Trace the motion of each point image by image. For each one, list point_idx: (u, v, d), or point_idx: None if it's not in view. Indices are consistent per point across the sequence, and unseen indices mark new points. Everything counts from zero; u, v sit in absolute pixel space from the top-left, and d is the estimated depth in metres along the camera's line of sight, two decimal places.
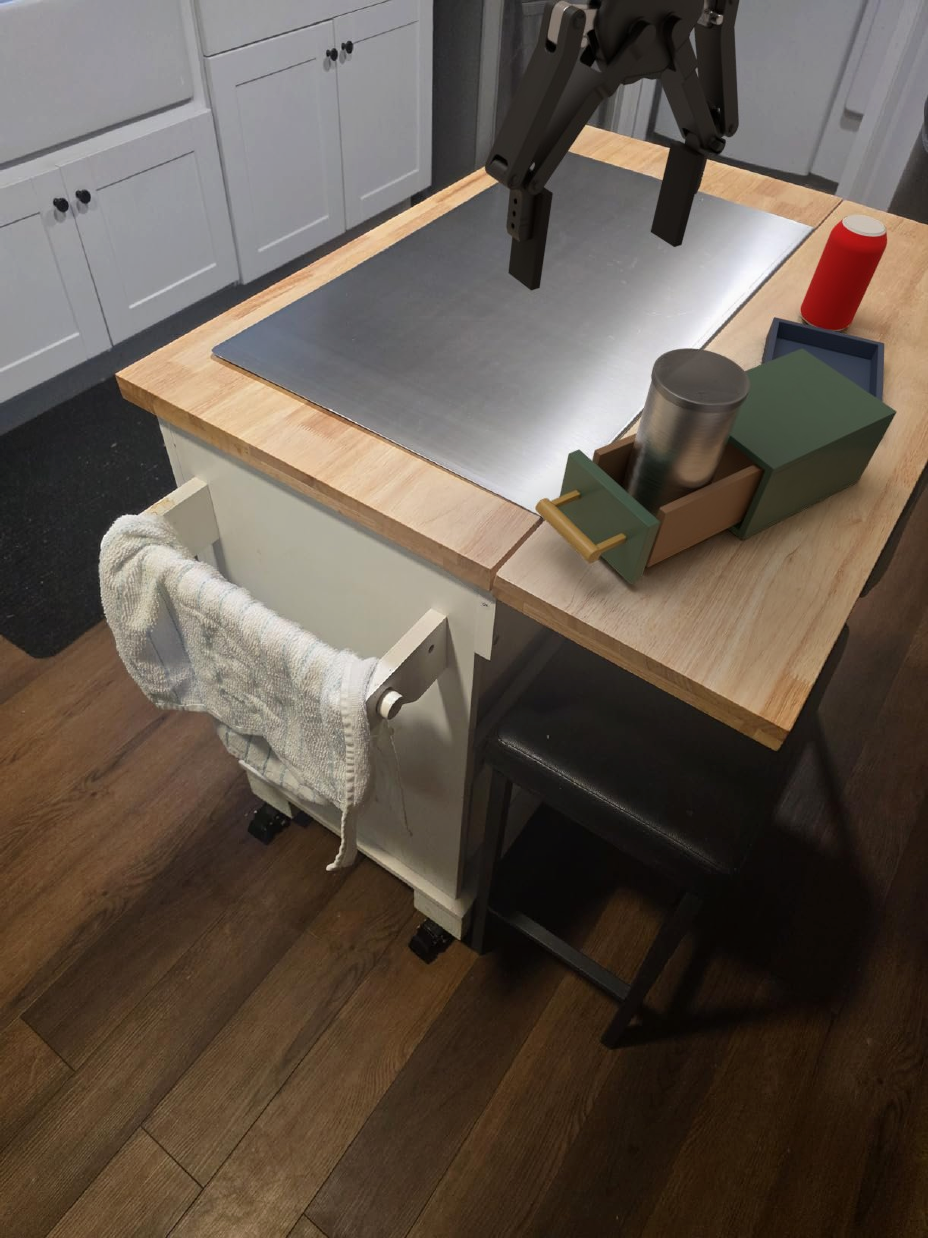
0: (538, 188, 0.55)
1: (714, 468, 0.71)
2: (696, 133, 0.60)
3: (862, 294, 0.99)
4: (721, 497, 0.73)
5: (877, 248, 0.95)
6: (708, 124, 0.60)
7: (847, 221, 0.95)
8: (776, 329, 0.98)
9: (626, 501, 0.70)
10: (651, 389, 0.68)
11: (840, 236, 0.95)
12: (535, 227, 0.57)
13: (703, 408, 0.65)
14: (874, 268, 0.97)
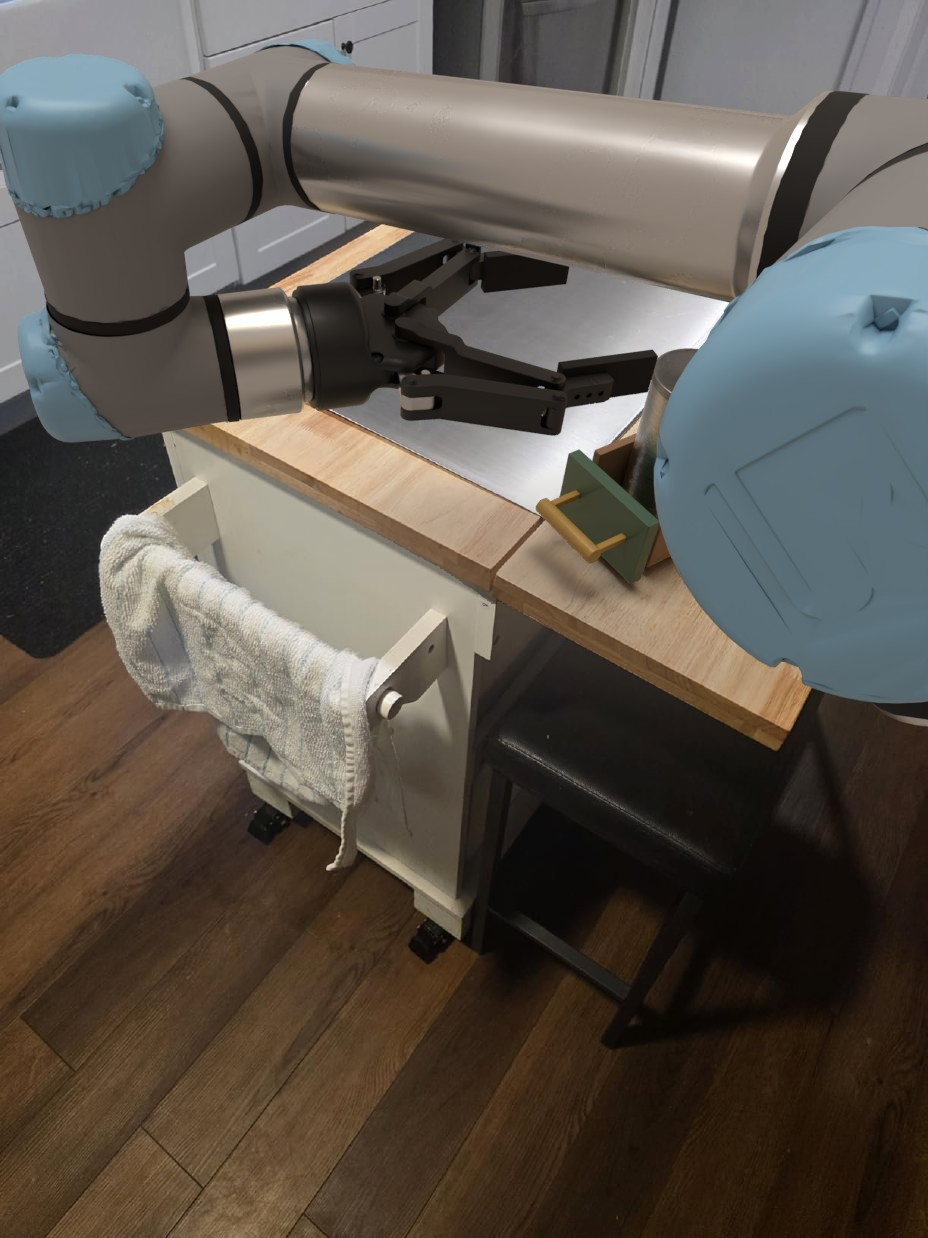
0: (558, 374, 0.52)
1: None
2: (469, 266, 0.61)
3: None
4: None
5: None
6: (458, 258, 0.61)
7: None
8: None
9: (626, 501, 0.70)
10: (651, 389, 0.68)
11: None
12: (595, 369, 0.54)
13: None
14: None
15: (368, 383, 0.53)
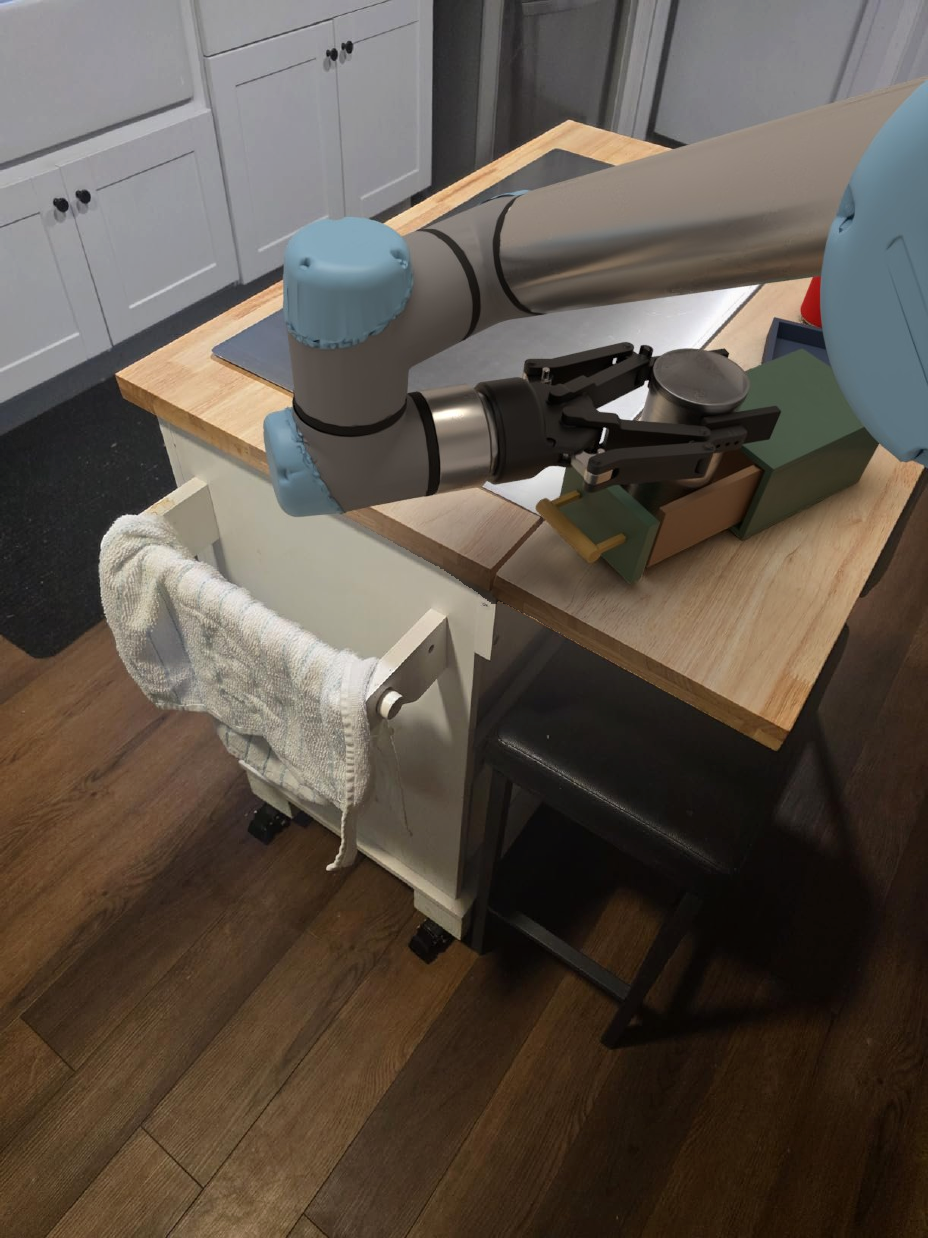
0: (704, 428, 0.65)
1: (714, 468, 0.71)
2: (636, 370, 0.70)
3: None
4: (721, 497, 0.73)
5: None
6: (629, 361, 0.70)
7: None
8: (776, 329, 0.98)
9: (626, 501, 0.70)
10: (651, 389, 0.68)
11: None
12: (732, 423, 0.66)
13: (703, 408, 0.65)
14: None
15: (541, 463, 0.63)
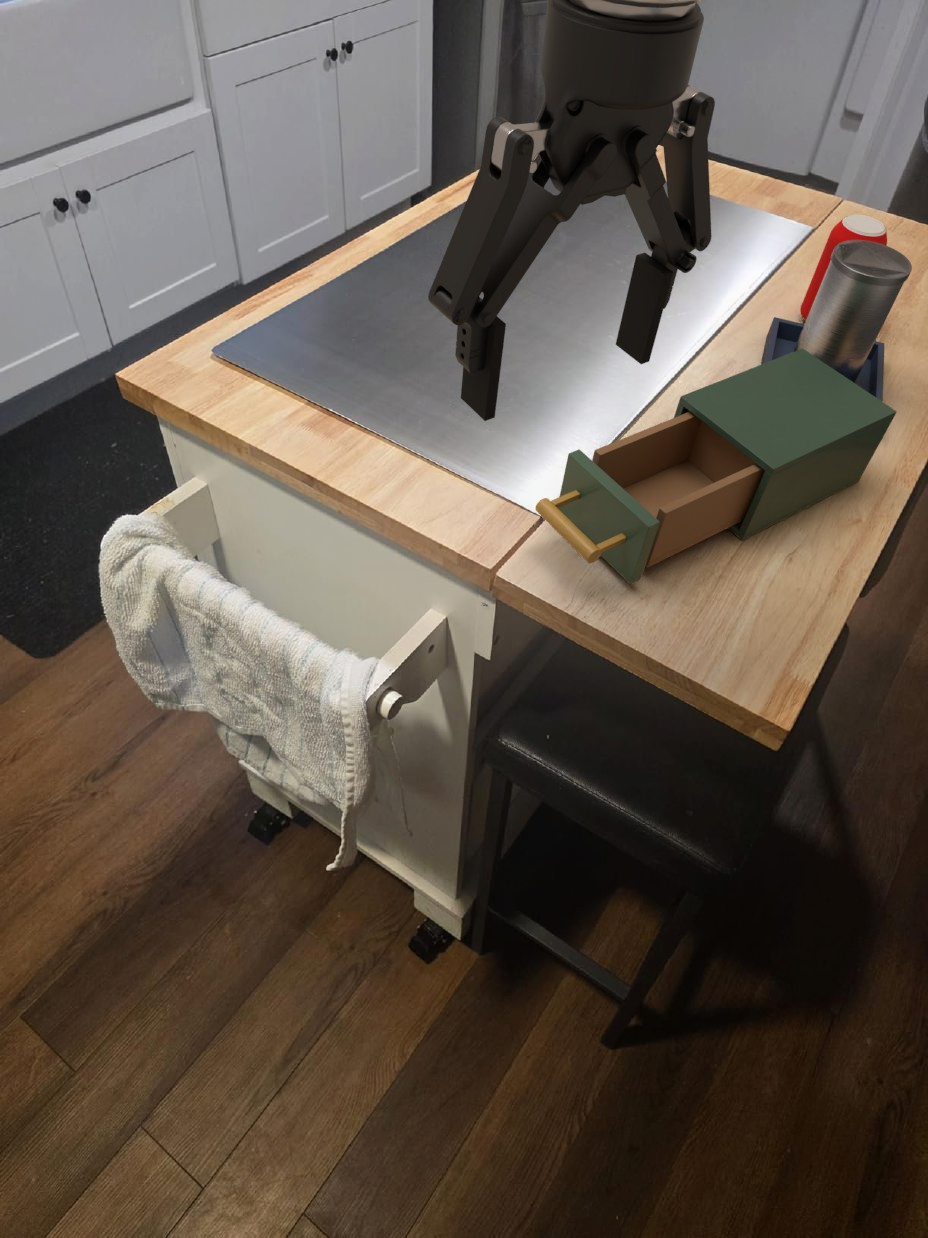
0: (489, 321, 0.49)
1: (875, 338, 0.88)
2: (663, 249, 0.54)
3: None
4: (721, 497, 0.73)
5: None
6: (677, 240, 0.53)
7: (847, 221, 0.95)
8: (776, 329, 0.98)
9: (626, 501, 0.70)
10: (831, 270, 0.85)
11: (840, 236, 0.95)
12: (487, 358, 0.51)
13: (878, 281, 0.82)
14: None
15: (551, 82, 0.43)
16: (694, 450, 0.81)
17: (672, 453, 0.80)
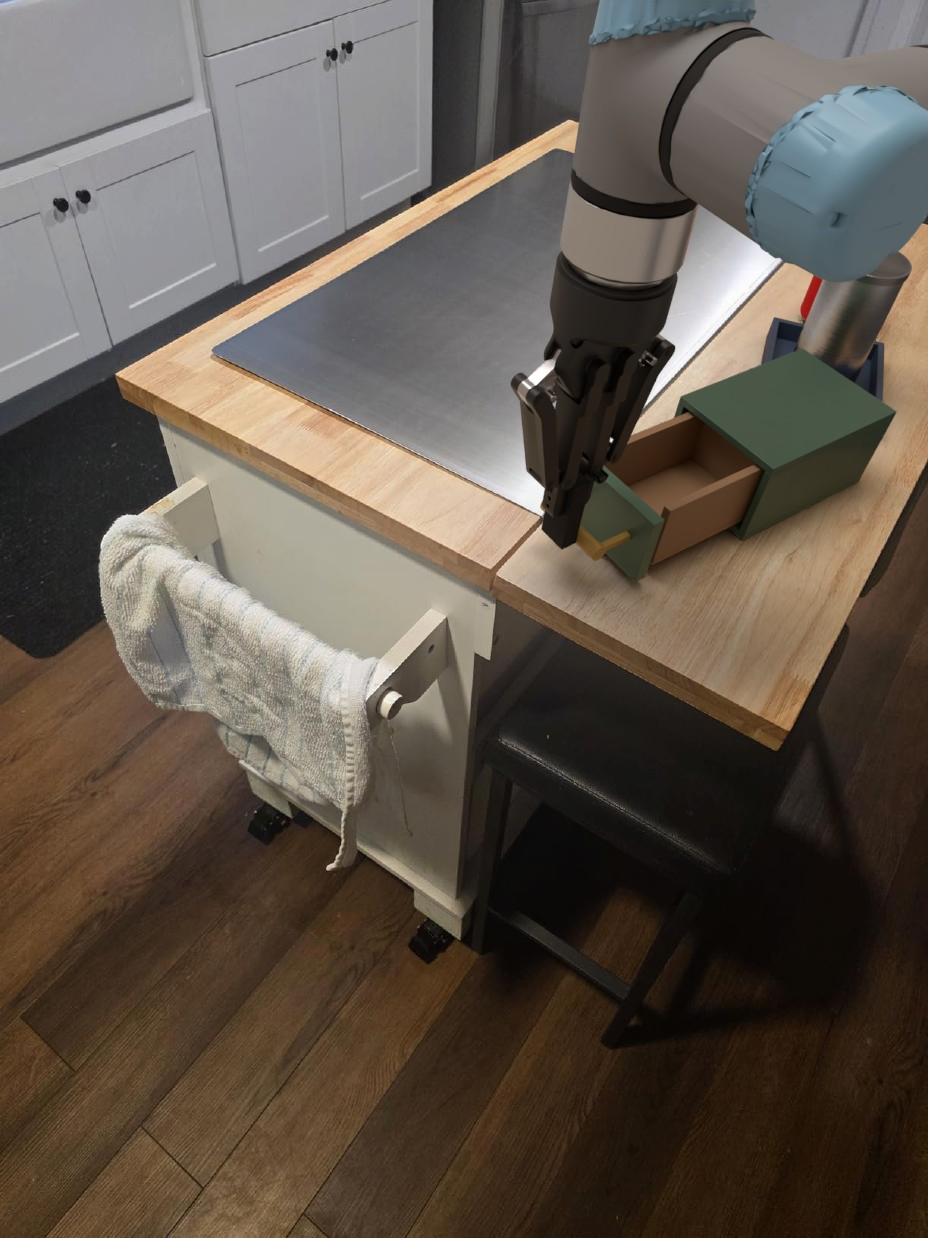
0: (572, 484, 0.65)
1: (875, 338, 0.88)
2: (590, 456, 0.65)
3: None
4: (725, 496, 0.73)
5: None
6: (602, 455, 0.65)
7: None
8: (776, 329, 0.98)
9: (631, 499, 0.70)
10: None
11: None
12: (567, 507, 0.67)
13: (878, 281, 0.82)
14: None
15: (558, 323, 0.54)
16: (698, 448, 0.82)
17: (676, 451, 0.80)
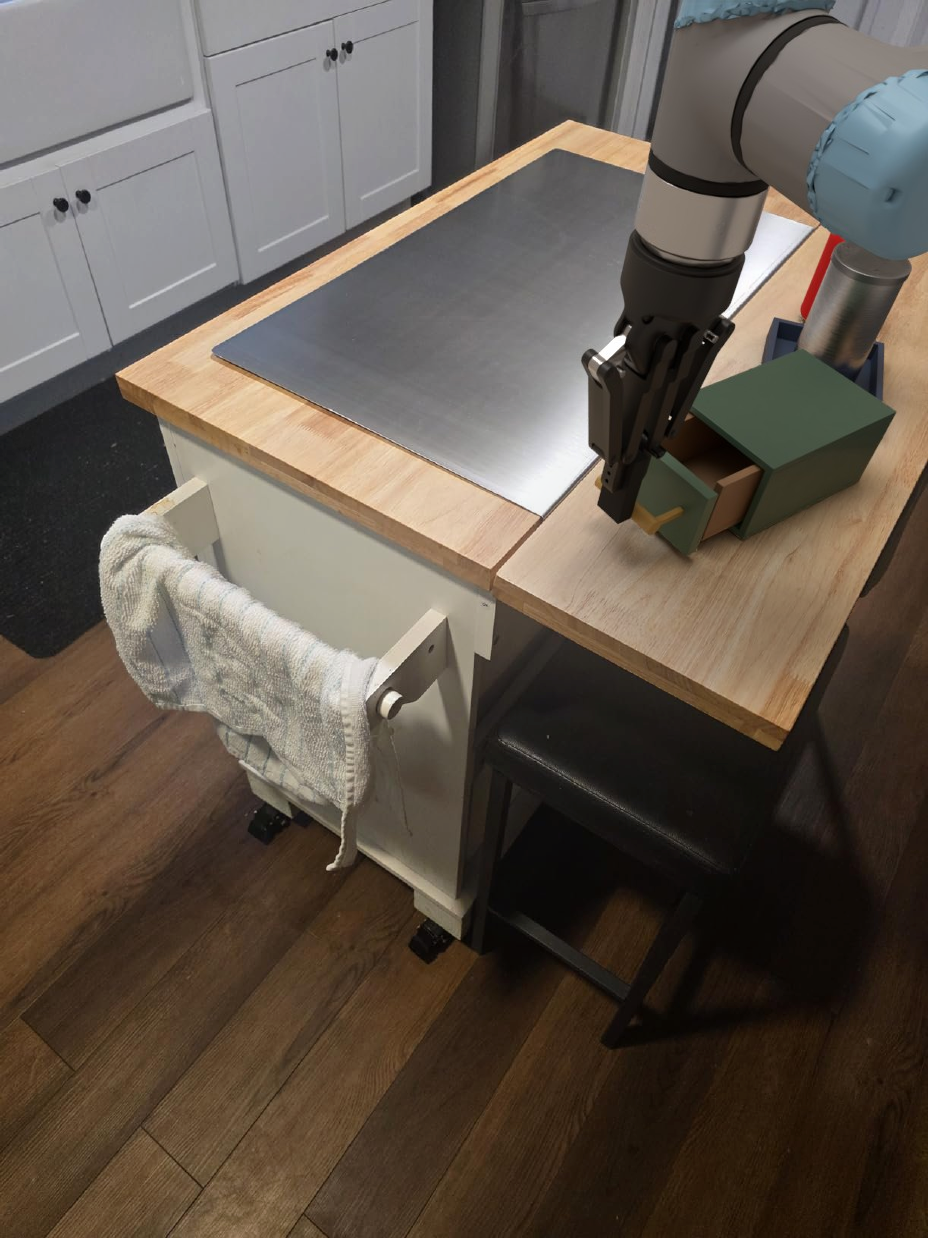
0: (632, 459, 0.67)
1: (875, 338, 0.88)
2: (650, 432, 0.67)
3: None
4: None
5: None
6: (661, 430, 0.67)
7: None
8: (776, 329, 0.98)
9: (685, 475, 0.72)
10: (831, 270, 0.85)
11: None
12: (625, 482, 0.70)
13: (878, 281, 0.82)
14: None
15: (630, 300, 0.57)
16: None
17: None
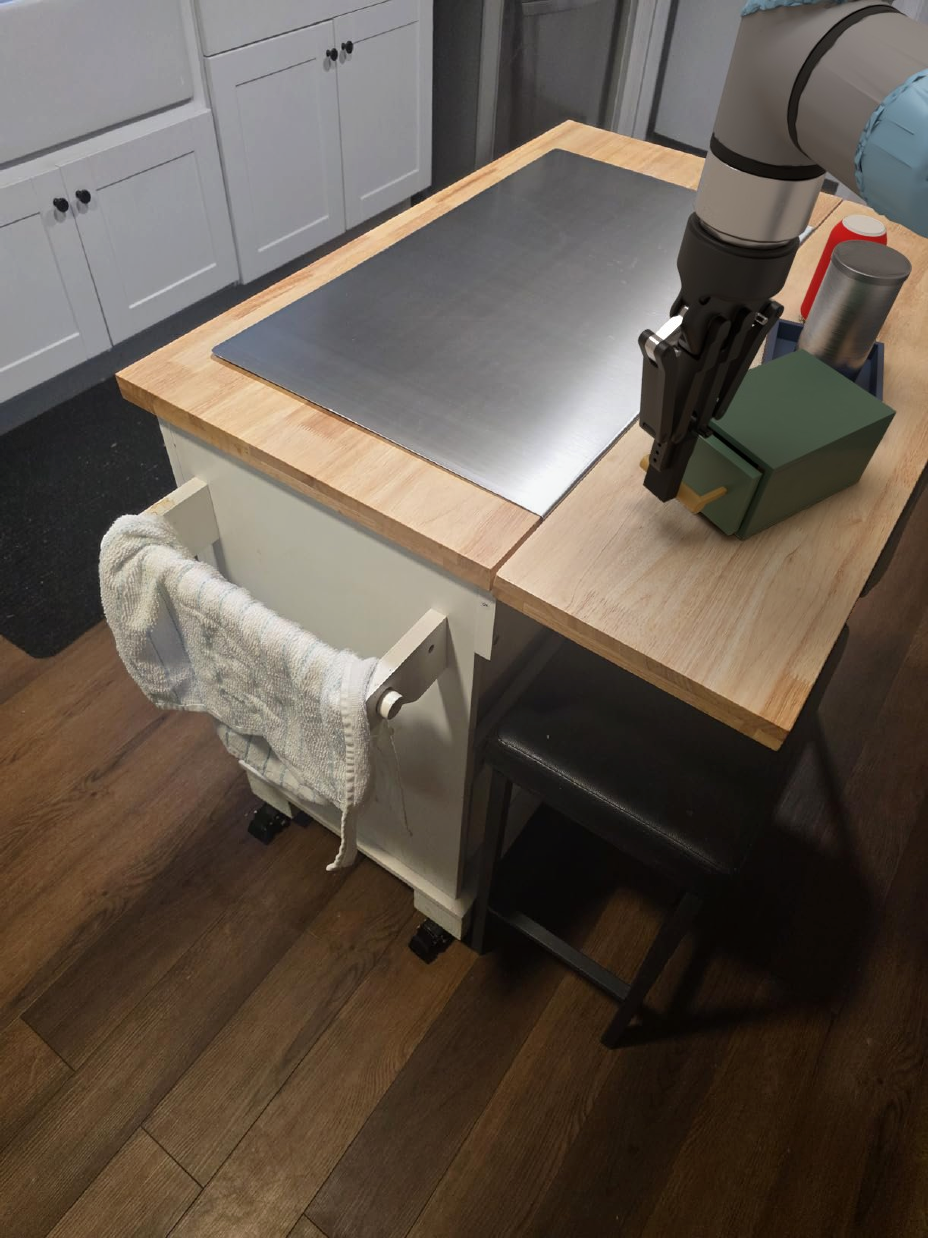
0: (681, 438, 0.69)
1: (875, 338, 0.88)
2: (698, 412, 0.69)
3: None
4: None
5: None
6: (710, 411, 0.69)
7: (847, 221, 0.95)
8: (776, 329, 0.98)
9: (729, 455, 0.74)
10: (831, 270, 0.85)
11: (840, 236, 0.95)
12: (673, 462, 0.72)
13: (878, 281, 0.82)
14: None
15: (687, 281, 0.59)
16: None
17: None
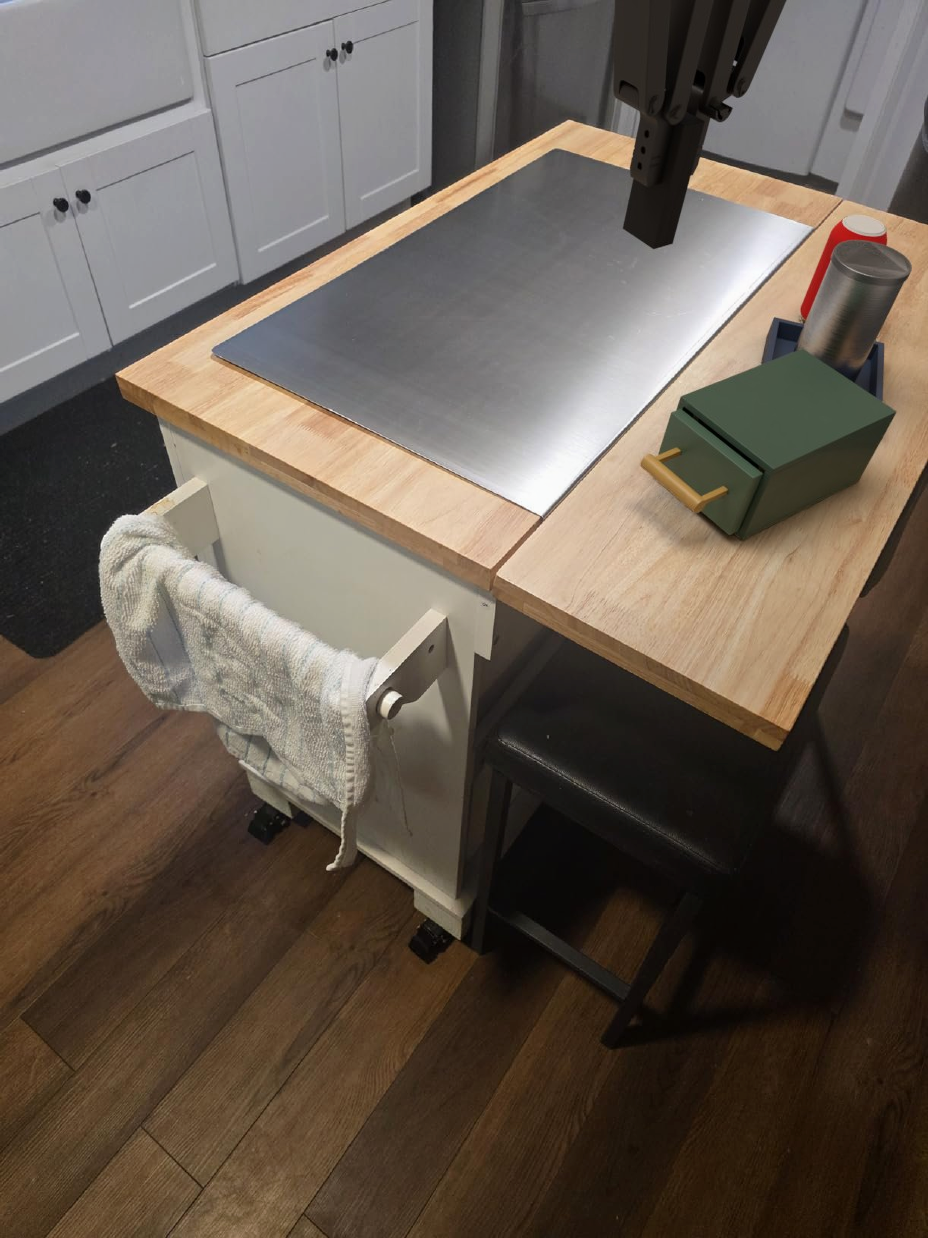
0: (681, 114, 0.44)
1: (875, 338, 0.88)
2: (708, 72, 0.44)
3: None
4: None
5: None
6: (726, 70, 0.44)
7: (847, 221, 0.95)
8: (776, 329, 0.98)
9: (729, 455, 0.75)
10: (831, 270, 0.85)
11: (840, 236, 0.95)
12: (667, 168, 0.46)
13: (878, 281, 0.82)
14: None
15: None
16: None
17: None
